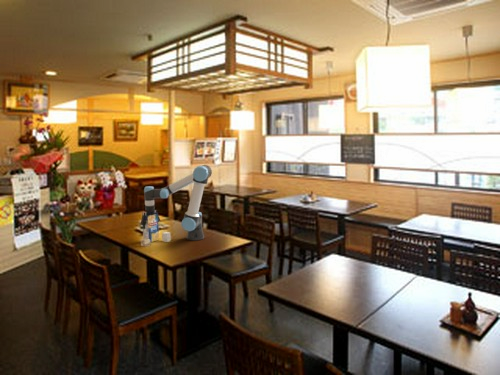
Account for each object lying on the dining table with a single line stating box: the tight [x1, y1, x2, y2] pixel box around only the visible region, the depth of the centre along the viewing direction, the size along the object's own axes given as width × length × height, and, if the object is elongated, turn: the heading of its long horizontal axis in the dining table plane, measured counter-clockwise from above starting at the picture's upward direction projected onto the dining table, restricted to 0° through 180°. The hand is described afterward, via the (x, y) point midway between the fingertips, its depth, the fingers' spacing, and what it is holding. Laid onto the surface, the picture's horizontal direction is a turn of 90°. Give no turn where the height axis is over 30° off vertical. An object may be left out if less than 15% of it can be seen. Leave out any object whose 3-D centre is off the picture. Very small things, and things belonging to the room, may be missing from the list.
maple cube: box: [140, 238, 151, 248], centre depth 293 cm, size 5×5×5 cm
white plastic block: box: [161, 231, 172, 243], centre depth 307 cm, size 5×5×7 cm
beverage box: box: [142, 213, 160, 243], centre depth 305 cm, size 7×11×22 cm, turn 146°
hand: (150, 231), depth 305 cm, fingers closed on beverage box, 11 cm apart
